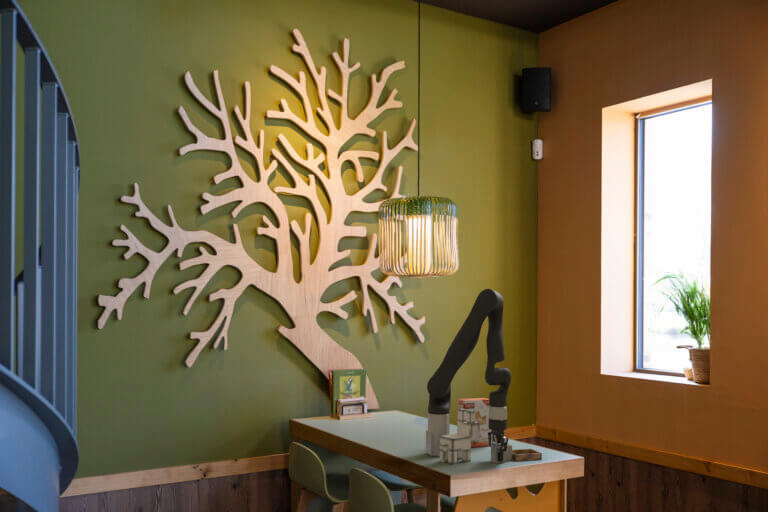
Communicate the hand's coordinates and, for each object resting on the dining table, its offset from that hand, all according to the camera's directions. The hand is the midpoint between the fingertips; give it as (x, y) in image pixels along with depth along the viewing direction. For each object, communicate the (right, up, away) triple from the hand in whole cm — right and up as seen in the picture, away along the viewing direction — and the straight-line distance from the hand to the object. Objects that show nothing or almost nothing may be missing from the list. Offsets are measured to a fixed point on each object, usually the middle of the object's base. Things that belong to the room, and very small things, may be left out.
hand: (497, 459), depth 295 cm
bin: (+12, -1, +8) cm, 15 cm away
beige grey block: (+4, -1, +4) cm, 6 cm away
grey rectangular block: (0, -1, 0) cm, 1 cm away
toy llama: (-16, -1, +1) cm, 16 cm away
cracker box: (-6, -3, +31) cm, 31 cm away
